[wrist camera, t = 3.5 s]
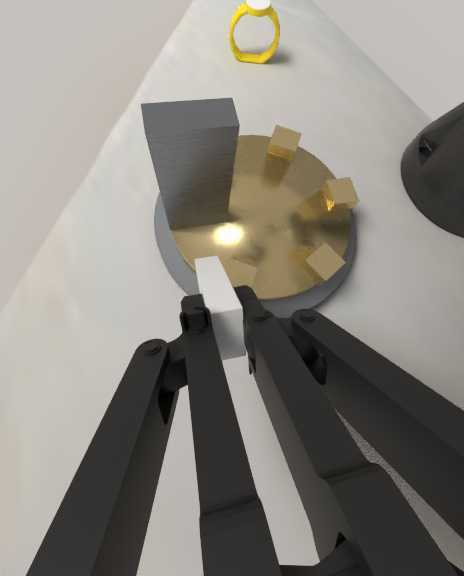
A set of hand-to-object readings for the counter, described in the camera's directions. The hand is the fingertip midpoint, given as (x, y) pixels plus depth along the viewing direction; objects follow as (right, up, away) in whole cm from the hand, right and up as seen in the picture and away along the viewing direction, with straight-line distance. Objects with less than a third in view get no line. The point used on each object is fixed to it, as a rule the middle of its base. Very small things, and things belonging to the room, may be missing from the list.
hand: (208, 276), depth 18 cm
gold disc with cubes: (+4, +6, +9) cm, 11 cm away
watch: (+4, +29, +18) cm, 34 cm away
